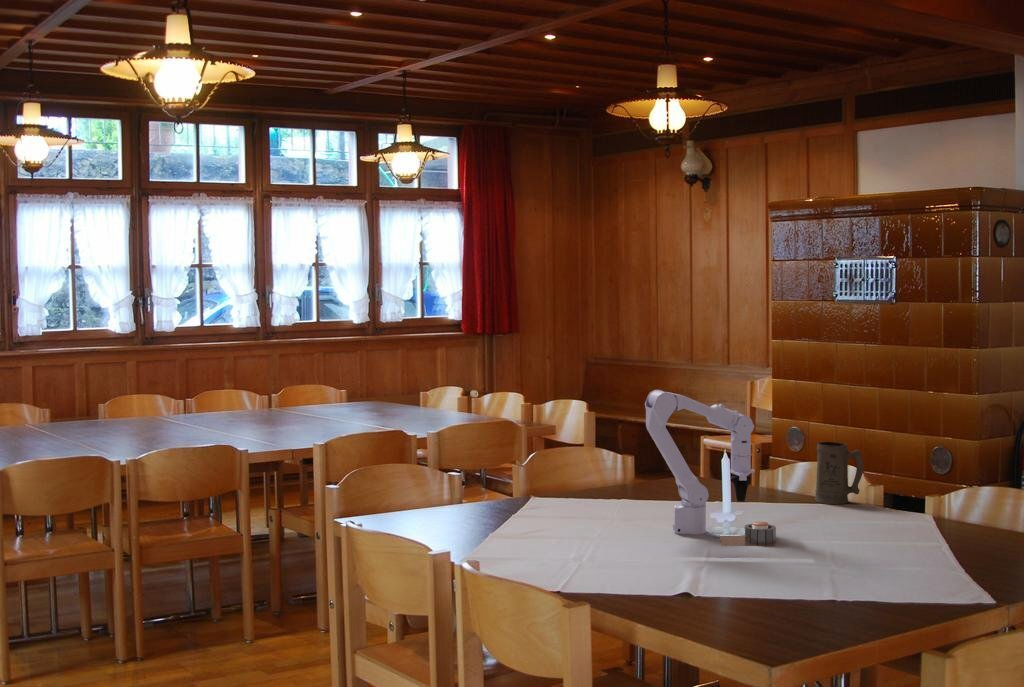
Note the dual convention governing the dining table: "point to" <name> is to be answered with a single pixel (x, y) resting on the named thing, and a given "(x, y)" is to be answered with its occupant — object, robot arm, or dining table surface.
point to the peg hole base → (752, 537)
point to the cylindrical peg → (760, 525)
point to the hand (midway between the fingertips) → (740, 501)
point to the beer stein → (835, 473)
